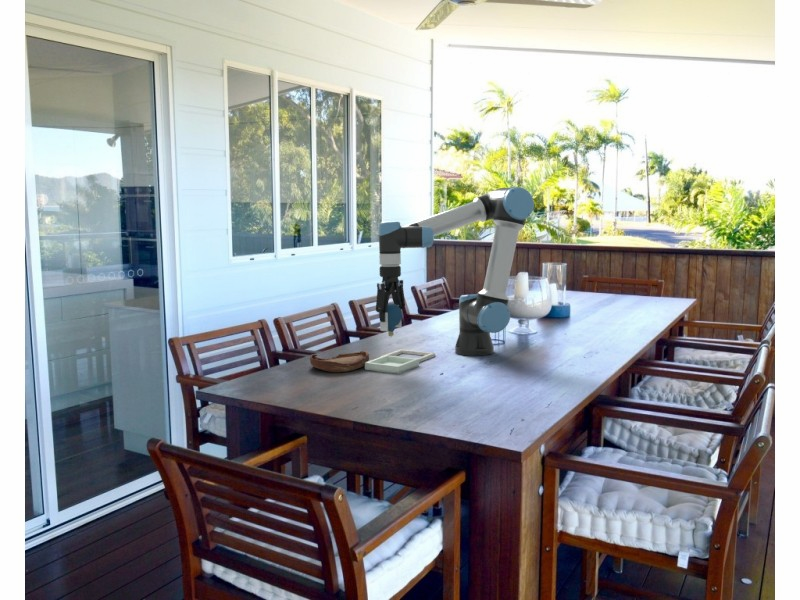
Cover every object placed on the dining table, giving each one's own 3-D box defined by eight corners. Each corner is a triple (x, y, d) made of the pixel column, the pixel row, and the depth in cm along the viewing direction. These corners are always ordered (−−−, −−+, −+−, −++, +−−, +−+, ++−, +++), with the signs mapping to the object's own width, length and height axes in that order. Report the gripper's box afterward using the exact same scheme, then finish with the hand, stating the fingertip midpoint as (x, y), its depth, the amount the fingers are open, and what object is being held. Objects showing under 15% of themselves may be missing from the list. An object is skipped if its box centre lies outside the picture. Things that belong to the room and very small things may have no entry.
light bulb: (400, 339, 244) (399, 305, 242) (376, 338, 245) (376, 304, 244) (404, 334, 252) (404, 301, 250) (382, 334, 253) (381, 301, 252)
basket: (346, 358, 268) (346, 345, 267) (382, 366, 254) (382, 352, 253) (299, 368, 252) (298, 355, 252) (334, 377, 238) (334, 363, 238)
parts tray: (418, 365, 252) (418, 358, 252) (398, 373, 240) (398, 366, 240) (386, 361, 260) (386, 355, 259) (364, 369, 248) (364, 362, 248)
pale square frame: (435, 356, 268) (435, 353, 268) (414, 364, 255) (414, 360, 255) (401, 352, 276) (401, 349, 276) (379, 359, 263) (379, 356, 263)
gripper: (397, 263, 256) (397, 323, 259) (364, 267, 238) (365, 332, 241) (414, 263, 252) (415, 325, 255) (382, 268, 234) (383, 334, 237)
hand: (391, 328), depth 248 cm, fingers closed on light bulb, 8 cm apart
